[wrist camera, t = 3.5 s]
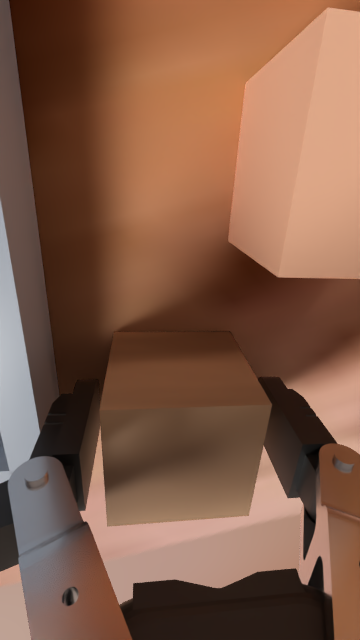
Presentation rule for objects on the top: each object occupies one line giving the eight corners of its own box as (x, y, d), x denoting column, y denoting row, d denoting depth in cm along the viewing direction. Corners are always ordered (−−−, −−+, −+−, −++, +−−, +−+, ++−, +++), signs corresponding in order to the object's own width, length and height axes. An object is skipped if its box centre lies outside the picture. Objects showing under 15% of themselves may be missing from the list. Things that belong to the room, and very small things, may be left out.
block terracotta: (244, 83, 9) (327, 6, 5) (385, 97, 10) (562, 38, 6) (227, 240, 11) (277, 277, 7) (346, 244, 12) (458, 280, 7)
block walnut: (114, 330, 12) (99, 410, 8) (229, 330, 12) (272, 404, 8) (117, 423, 14) (107, 526, 10) (218, 419, 14) (248, 515, 10)
